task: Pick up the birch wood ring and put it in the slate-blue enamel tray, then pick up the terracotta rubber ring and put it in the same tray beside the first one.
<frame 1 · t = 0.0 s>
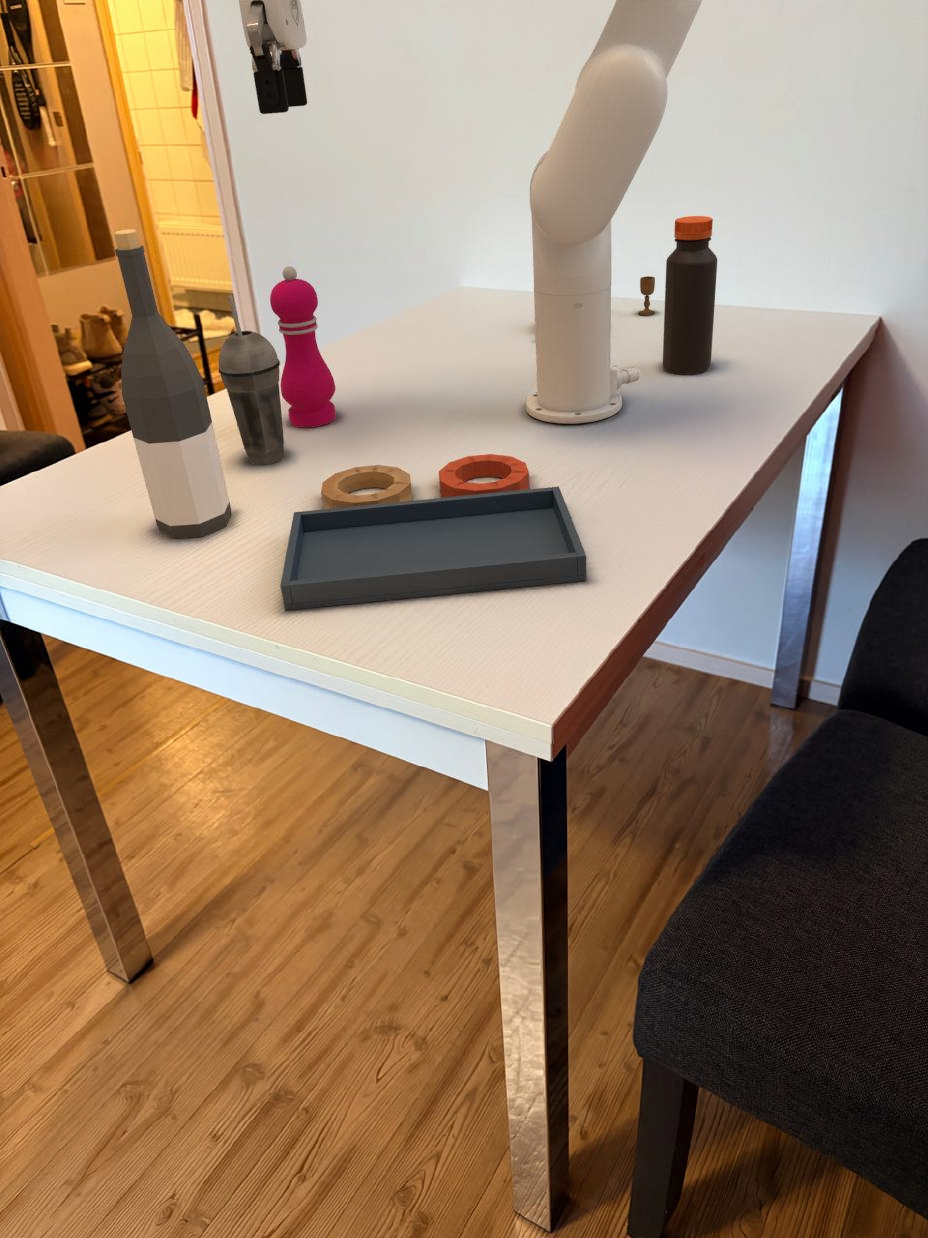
hand: (284, 109, 110), 37 cm above the table, tool pointing down, fingers open, 9 cm apart
tray: (432, 555, 94), on the table
vinegar: (686, 368, 138), on the table
terracotta ring: (484, 487, 107), on the table
wine bottle: (196, 524, 105), on the table
pepper mill: (313, 421, 130), on the table
place setting: (595, 327, 160), on the table
birch ring: (368, 499, 106), on the table
beverage cup: (267, 459, 120), on the table
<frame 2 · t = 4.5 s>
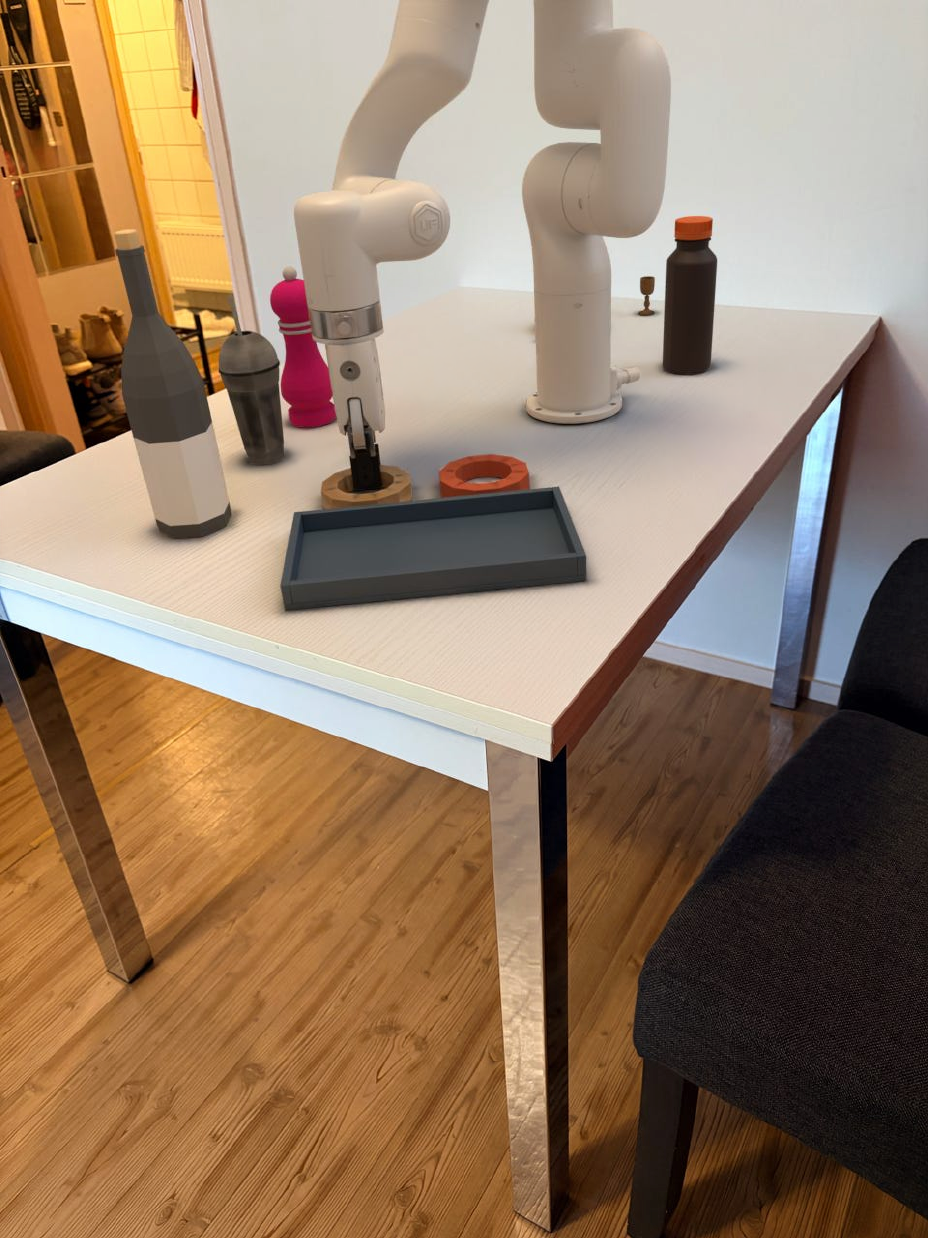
hand: (368, 481, 110), 0 cm above the table, tool pointing down, fingers closed on birch ring, 2 cm apart
birch ring: (368, 498, 107), on the table, touching gripper
everything else where it was.
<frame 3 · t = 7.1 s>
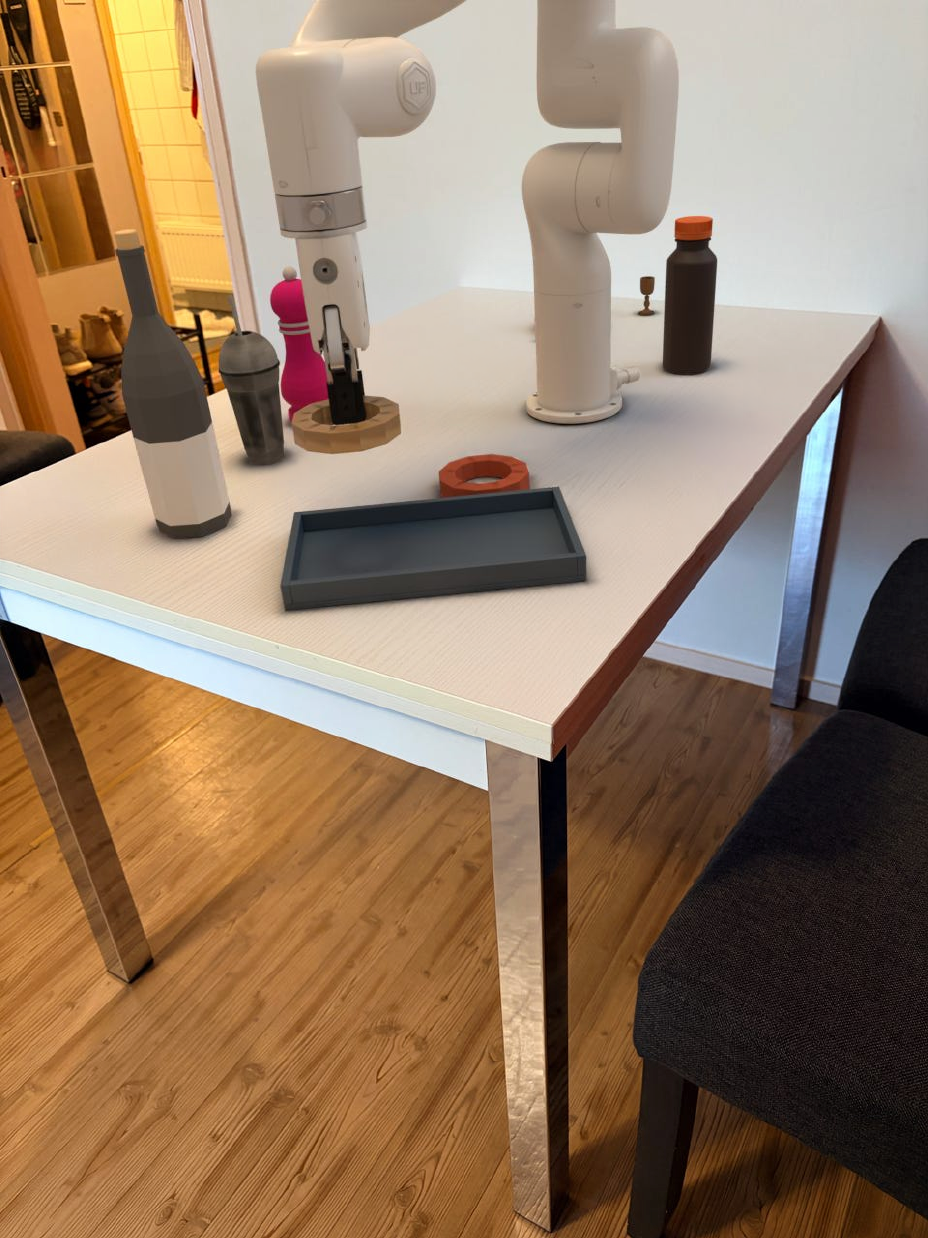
hand: (349, 416, 92), 13 cm above the table, tool pointing down, fingers closed on birch ring
birch ring: (348, 433, 89), point 13 cm above the table, touching gripper
everything else where it was.
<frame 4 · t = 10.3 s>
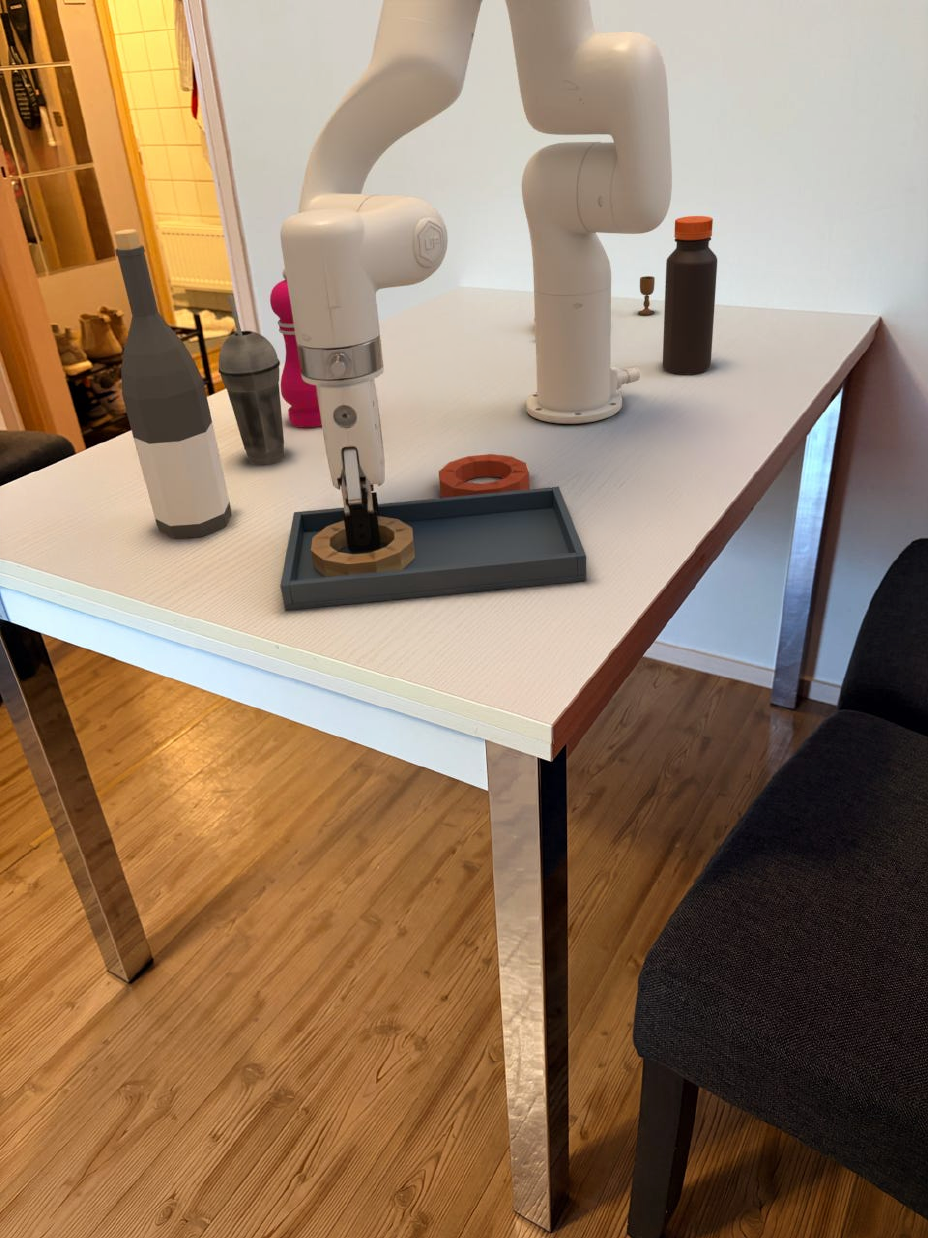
hand: (364, 537, 96), 1 cm above the table, tool pointing down, fingers open, 3 cm apart
birch ring: (364, 556, 93), point 1 cm above the table, touching tray
everything else where it was.
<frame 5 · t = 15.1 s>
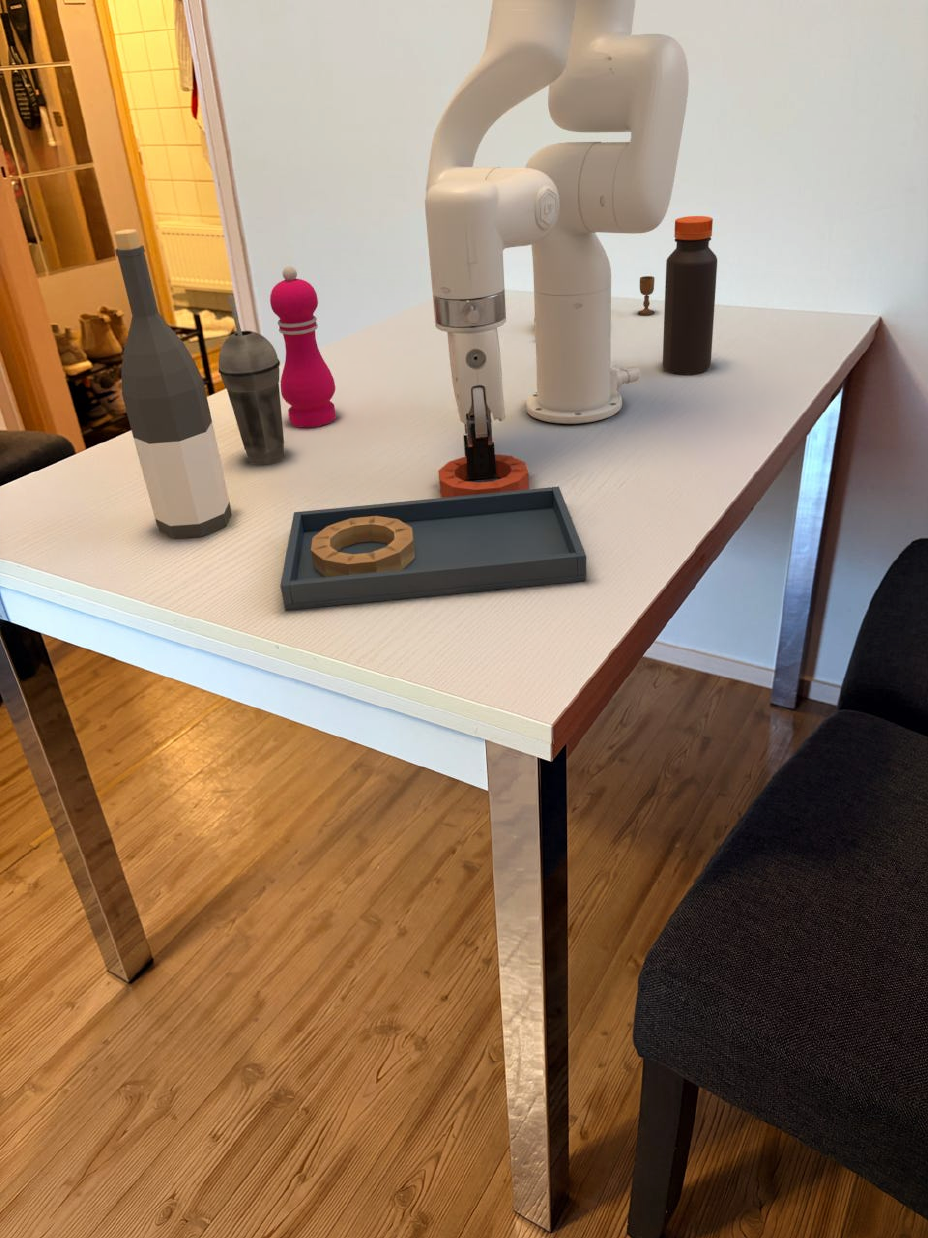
hand: (480, 470, 110), 0 cm above the table, tool pointing down, fingers closed on terracotta ring, 2 cm apart
terracotta ring: (484, 487, 107), on the table, touching gripper
everything else where it was.
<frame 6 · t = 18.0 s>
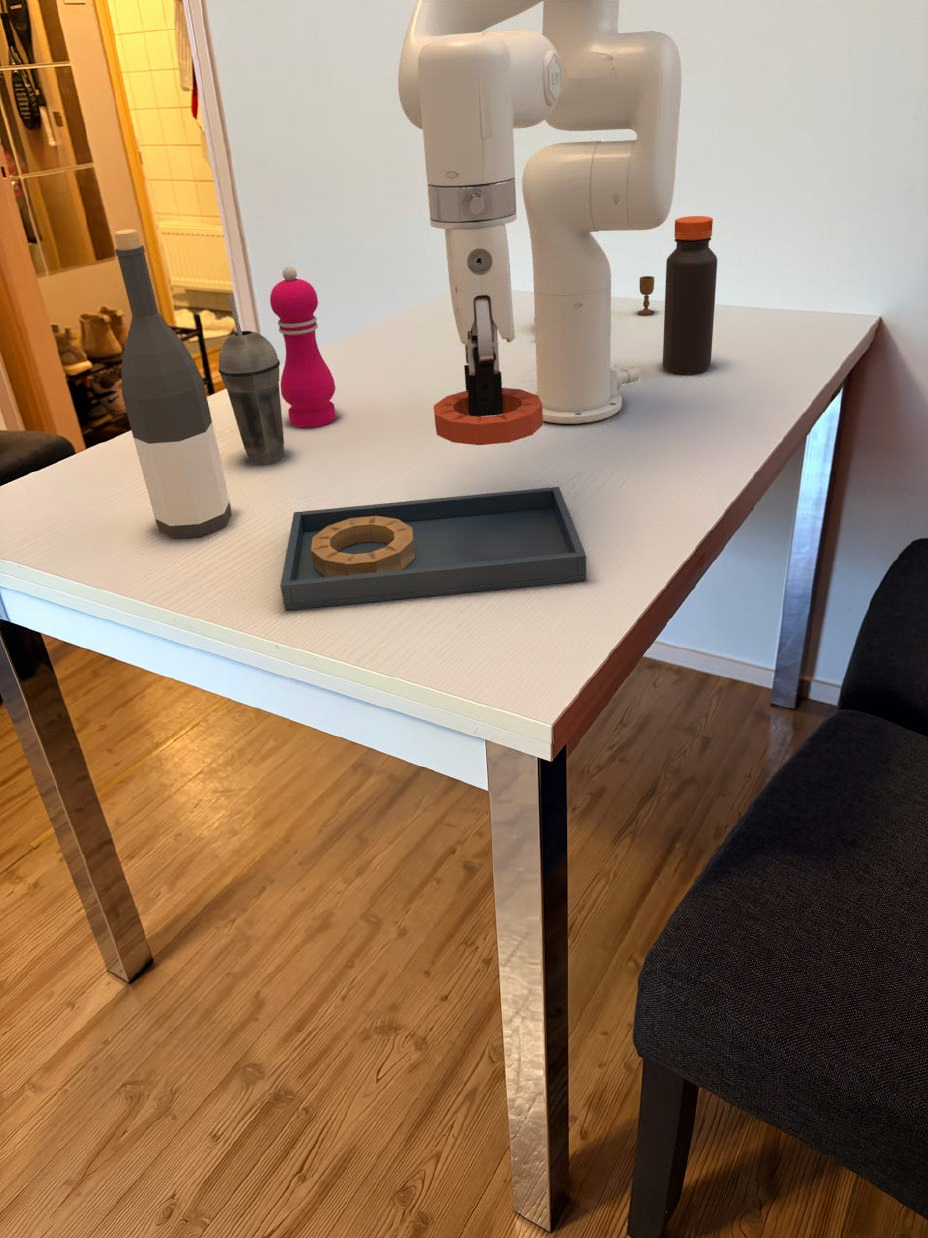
hand: (484, 408, 92), 13 cm above the table, tool pointing down, fingers closed on terracotta ring
terracotta ring: (488, 425, 89), point 12 cm above the table, touching gripper
everything else where it was.
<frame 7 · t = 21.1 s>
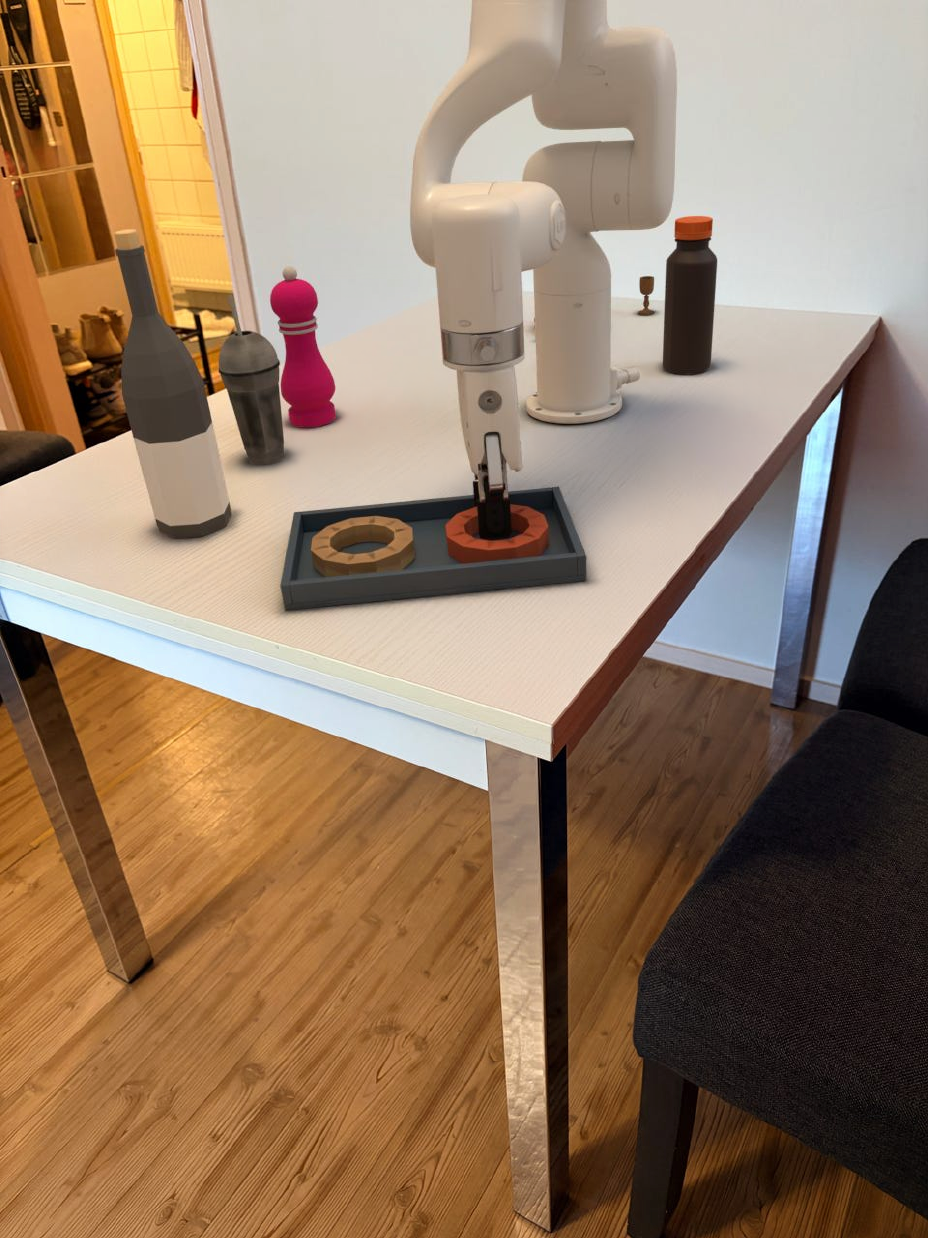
hand: (492, 524, 96), 1 cm above the table, tool pointing down, fingers open, 3 cm apart
terracotta ring: (497, 543, 94), point 1 cm above the table, touching tray
everything else where it was.
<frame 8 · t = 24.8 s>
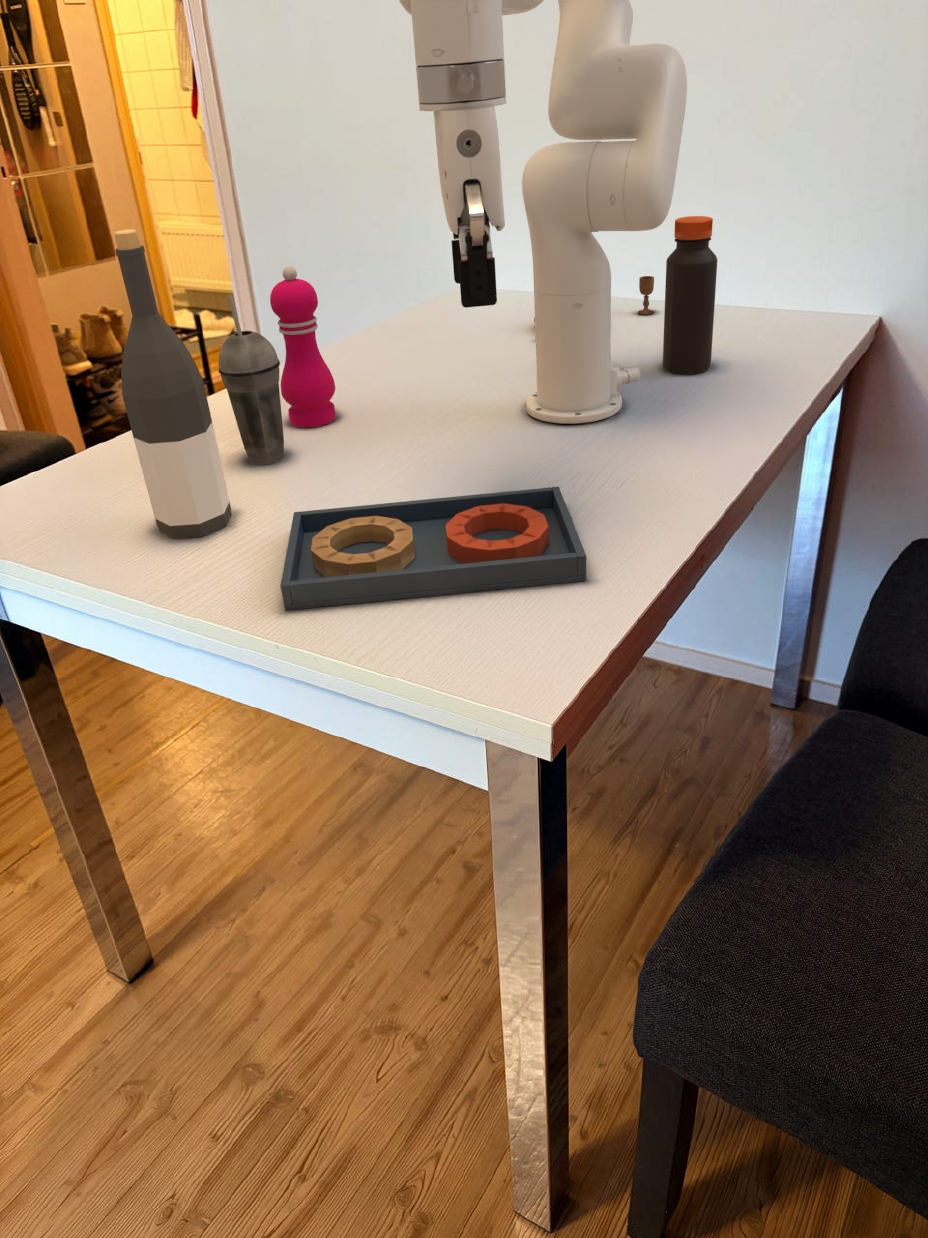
hand: (474, 292, 91), 22 cm above the table, tool pointing down, fingers open, 9 cm apart
nothing on the table moved.
at the end: birch ring inside the target area in the tray (6.6 cm from its centre), point 0.6 cm above the tray's base; terracotta ring inside the target area in the tray (6.4 cm from its centre), point 0.6 cm above the tray's base; terracotta ring tilted 0° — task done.
